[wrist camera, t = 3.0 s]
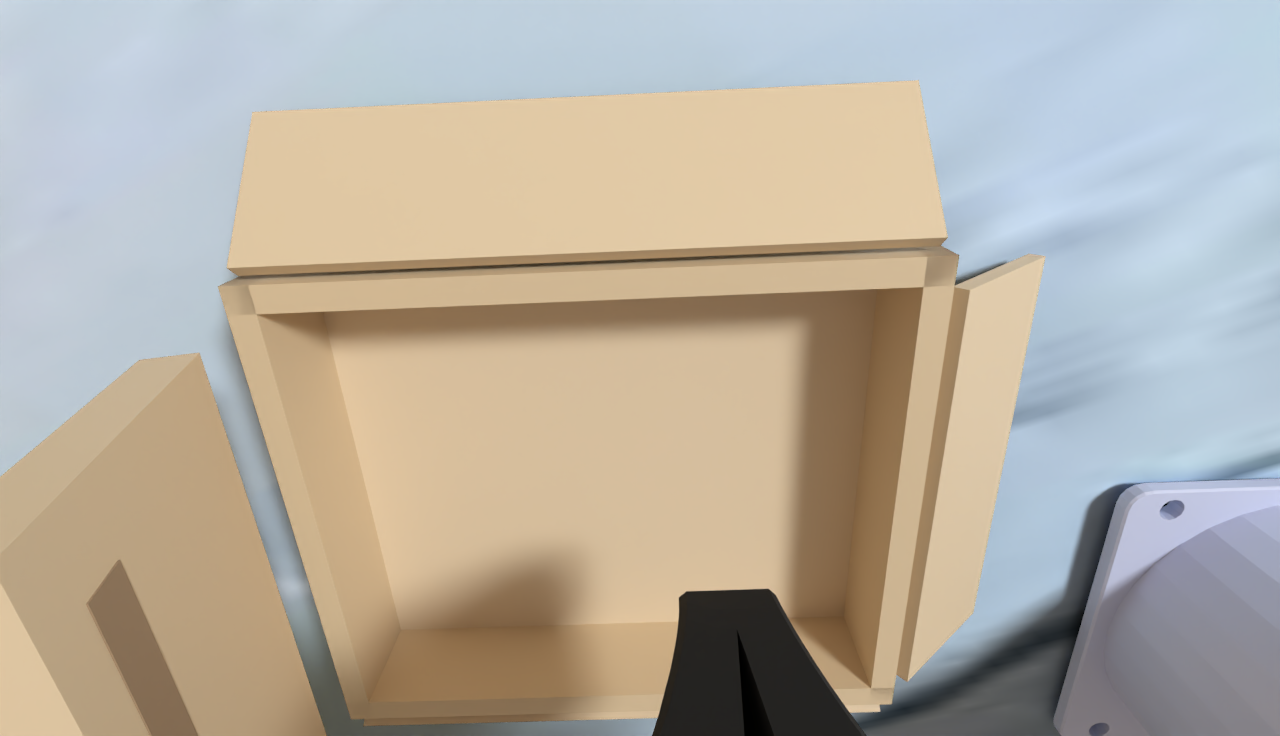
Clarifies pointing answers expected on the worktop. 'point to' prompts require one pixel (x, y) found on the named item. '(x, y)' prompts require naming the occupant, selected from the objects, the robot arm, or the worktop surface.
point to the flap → (142, 576)
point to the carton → (619, 387)
